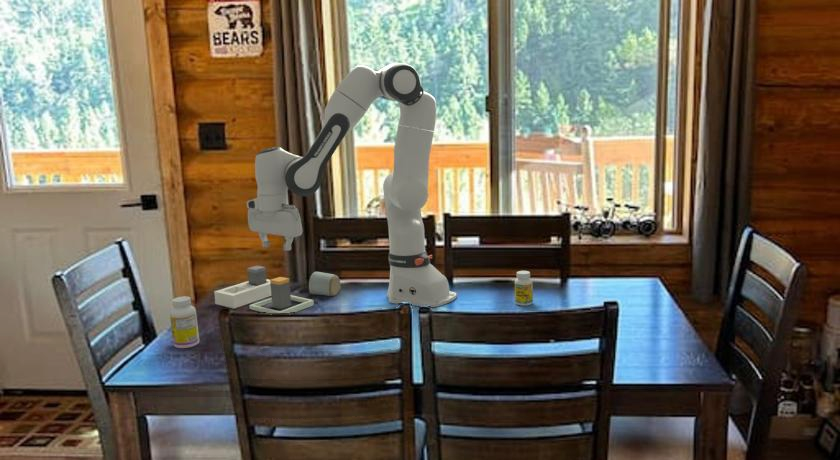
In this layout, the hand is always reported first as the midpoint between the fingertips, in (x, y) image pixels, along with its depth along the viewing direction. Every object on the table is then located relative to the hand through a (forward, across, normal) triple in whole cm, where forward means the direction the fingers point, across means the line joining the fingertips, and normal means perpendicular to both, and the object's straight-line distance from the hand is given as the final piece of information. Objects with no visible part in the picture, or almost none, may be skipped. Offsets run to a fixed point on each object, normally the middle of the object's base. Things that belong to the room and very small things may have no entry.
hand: (276, 248), depth 216 cm
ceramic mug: (+19, -1, -18) cm, 27 cm away
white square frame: (+19, 0, 0) cm, 19 cm away
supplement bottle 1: (+20, 0, +34) cm, 39 cm away
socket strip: (+19, +16, 0) cm, 25 cm away
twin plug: (+18, +16, -4) cm, 25 cm away
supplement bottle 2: (+19, -60, -42) cm, 76 cm away
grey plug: (+18, 0, 0) cm, 19 cm away
